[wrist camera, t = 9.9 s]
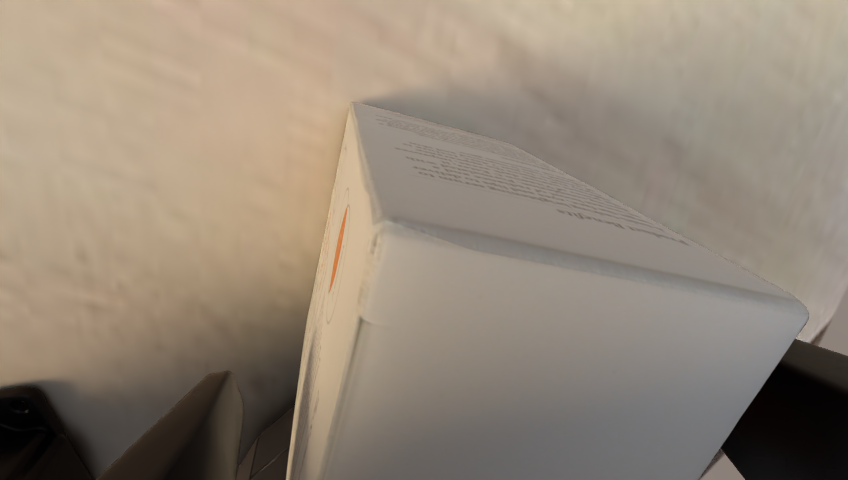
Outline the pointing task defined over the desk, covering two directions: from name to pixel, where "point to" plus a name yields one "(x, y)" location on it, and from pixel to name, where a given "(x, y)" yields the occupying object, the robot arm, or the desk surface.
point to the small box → (515, 323)
